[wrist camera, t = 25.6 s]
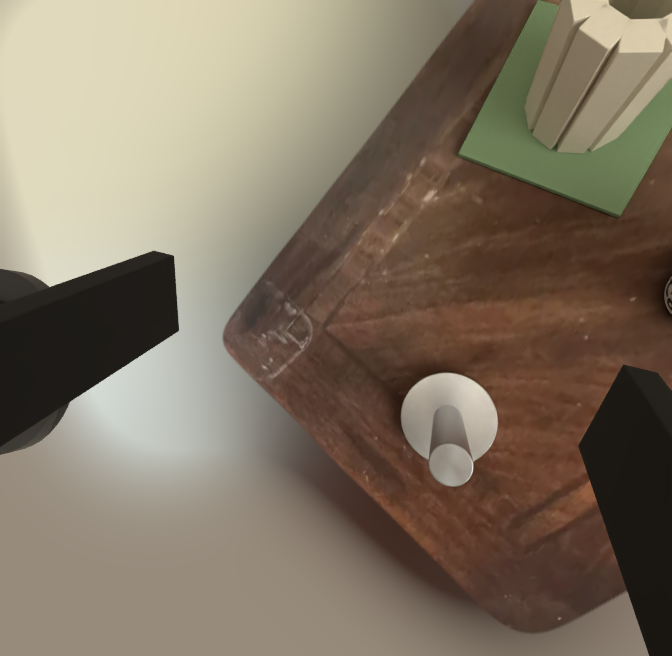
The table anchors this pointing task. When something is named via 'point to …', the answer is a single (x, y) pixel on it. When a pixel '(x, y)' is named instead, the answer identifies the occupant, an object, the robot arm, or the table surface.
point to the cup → (668, 295)
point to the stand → (449, 424)
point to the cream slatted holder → (599, 71)
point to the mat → (549, 165)
